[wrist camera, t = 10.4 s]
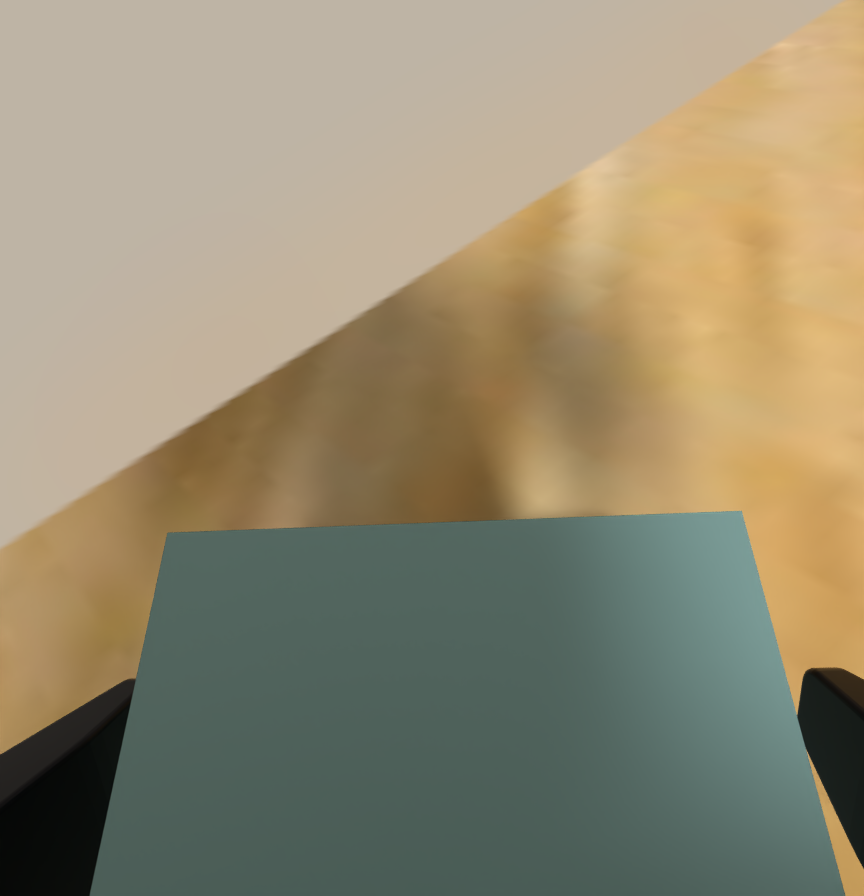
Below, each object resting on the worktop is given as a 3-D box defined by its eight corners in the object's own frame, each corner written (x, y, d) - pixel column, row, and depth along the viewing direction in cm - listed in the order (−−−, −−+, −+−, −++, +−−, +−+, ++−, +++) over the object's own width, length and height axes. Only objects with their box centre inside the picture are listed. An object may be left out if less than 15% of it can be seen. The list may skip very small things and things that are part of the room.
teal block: (589, 898, 14) (1032, 1585, 3) (386, 895, 14) (-36, 1477, 3) (566, 677, 16) (741, 510, 5) (391, 680, 17) (167, 533, 5)
